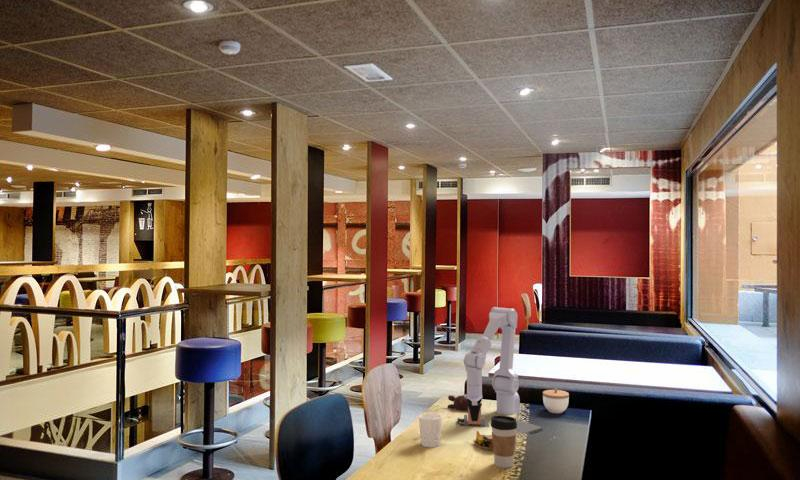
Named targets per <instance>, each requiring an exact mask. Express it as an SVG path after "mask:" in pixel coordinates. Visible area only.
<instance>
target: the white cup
mask: <svg viewBox="0 0 800 480" xmlns="http://www.w3.org/2000/svg"><path fill="white" fill-rule="evenodd" d="M418 419H419V421H418V422H419V423H418V424H419V438H420V445H421V446H422V447H424V448H429V449H430V448H437V447H439V446H440V444H441V434H442V415H441V414H439V413H435V412H425V413H421V414H419V416H418Z"/></svg>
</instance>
